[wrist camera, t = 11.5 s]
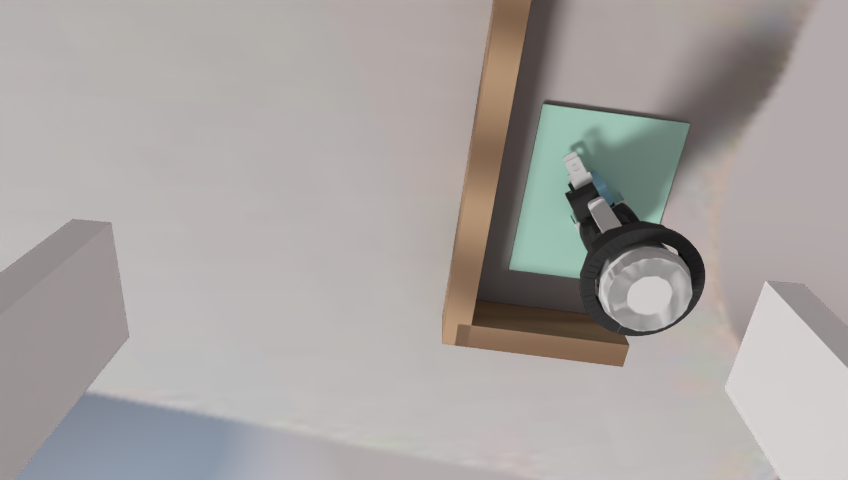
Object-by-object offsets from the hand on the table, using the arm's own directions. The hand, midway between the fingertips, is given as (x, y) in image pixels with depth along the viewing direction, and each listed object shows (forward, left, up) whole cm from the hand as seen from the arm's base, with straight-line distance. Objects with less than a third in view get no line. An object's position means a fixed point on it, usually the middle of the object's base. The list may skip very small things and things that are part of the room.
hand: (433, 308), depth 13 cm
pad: (+5, +9, -22) cm, 25 cm away
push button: (+5, +9, -22) cm, 25 cm away
